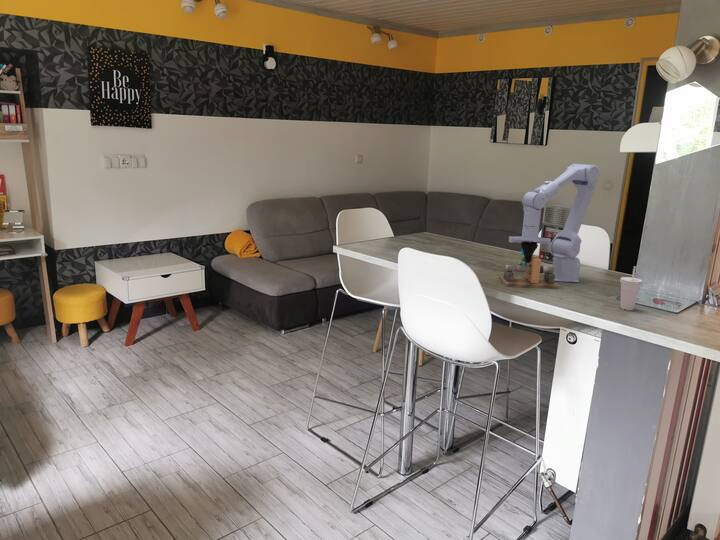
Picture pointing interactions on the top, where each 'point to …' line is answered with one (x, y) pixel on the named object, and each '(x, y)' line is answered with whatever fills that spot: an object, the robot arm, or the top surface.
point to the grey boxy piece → (552, 228)
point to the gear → (522, 258)
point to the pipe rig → (523, 282)
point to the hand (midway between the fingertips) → (527, 262)
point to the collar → (534, 270)
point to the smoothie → (629, 291)
